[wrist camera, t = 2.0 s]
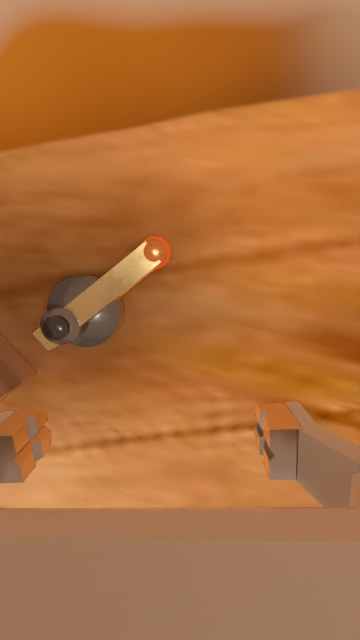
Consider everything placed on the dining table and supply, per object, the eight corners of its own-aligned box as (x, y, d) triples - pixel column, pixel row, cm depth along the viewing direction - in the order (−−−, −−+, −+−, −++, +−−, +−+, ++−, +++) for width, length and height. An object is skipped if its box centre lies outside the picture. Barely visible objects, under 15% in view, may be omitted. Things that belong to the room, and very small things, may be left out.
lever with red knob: (85, 355, 31) (60, 376, 24) (42, 304, 29) (4, 314, 23) (191, 274, 28) (192, 275, 22) (148, 216, 27) (137, 201, 21)
